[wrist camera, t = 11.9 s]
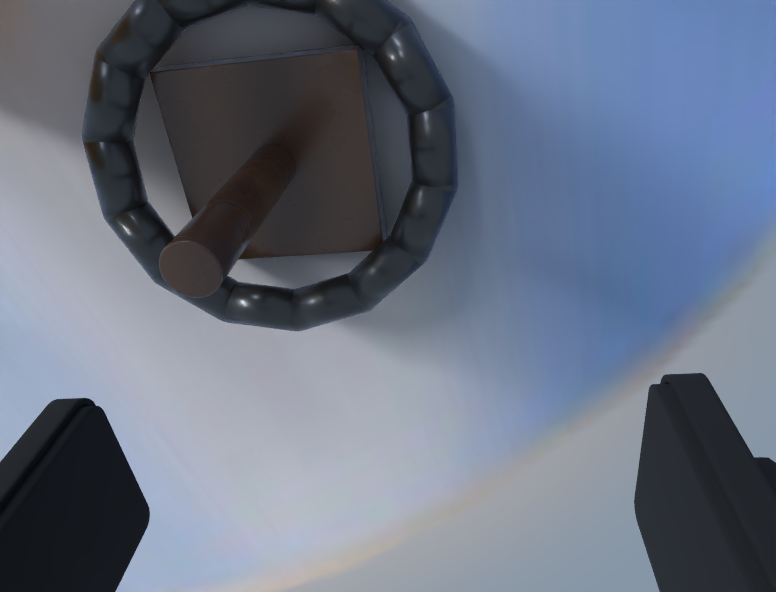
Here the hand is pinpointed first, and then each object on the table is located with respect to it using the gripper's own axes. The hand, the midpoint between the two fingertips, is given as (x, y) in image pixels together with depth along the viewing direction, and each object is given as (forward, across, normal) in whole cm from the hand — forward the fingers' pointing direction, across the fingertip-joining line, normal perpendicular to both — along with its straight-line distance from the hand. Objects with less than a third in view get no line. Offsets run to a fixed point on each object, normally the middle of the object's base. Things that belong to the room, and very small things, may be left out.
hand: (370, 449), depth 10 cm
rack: (+20, +6, +1) cm, 21 cm away
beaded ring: (+18, +6, 0) cm, 19 cm away
